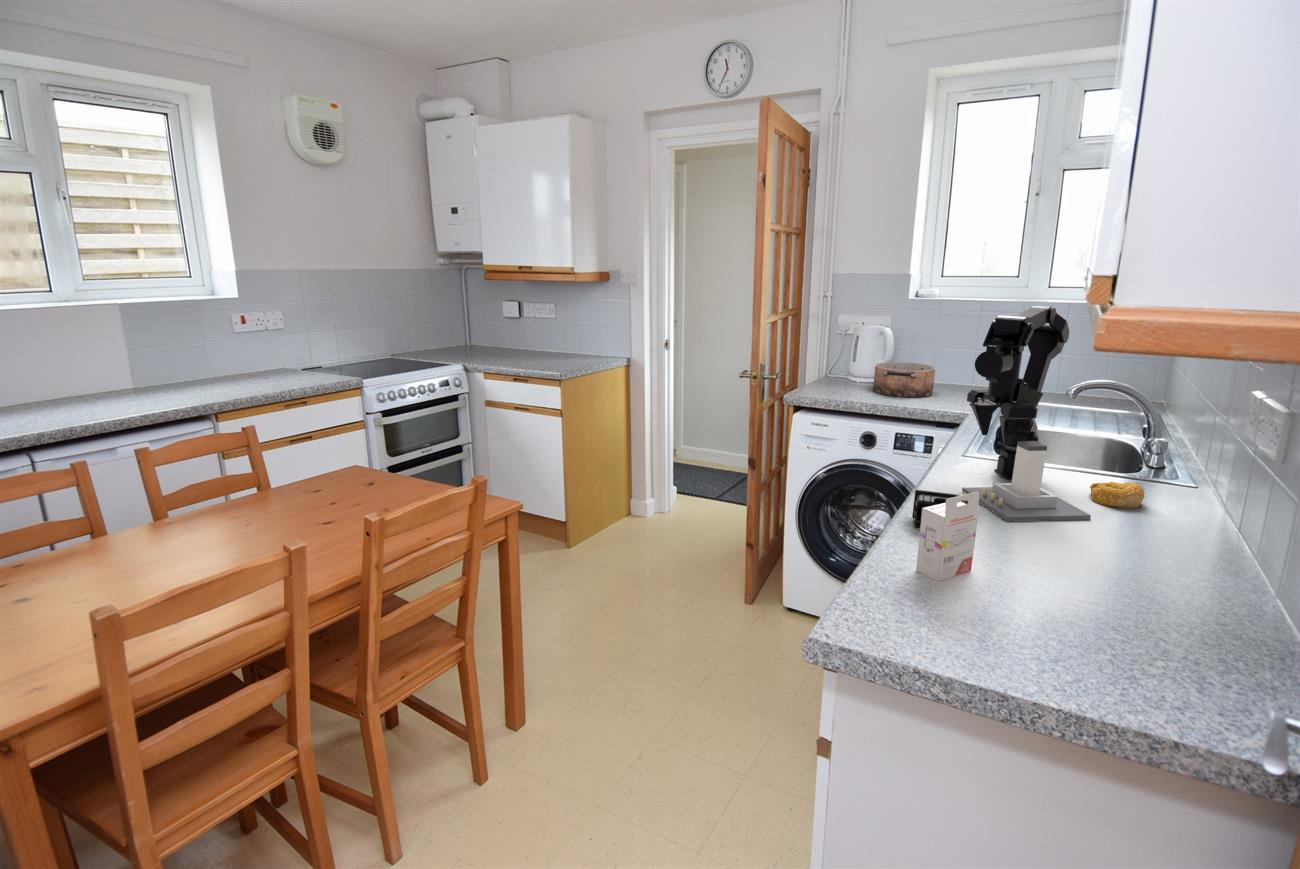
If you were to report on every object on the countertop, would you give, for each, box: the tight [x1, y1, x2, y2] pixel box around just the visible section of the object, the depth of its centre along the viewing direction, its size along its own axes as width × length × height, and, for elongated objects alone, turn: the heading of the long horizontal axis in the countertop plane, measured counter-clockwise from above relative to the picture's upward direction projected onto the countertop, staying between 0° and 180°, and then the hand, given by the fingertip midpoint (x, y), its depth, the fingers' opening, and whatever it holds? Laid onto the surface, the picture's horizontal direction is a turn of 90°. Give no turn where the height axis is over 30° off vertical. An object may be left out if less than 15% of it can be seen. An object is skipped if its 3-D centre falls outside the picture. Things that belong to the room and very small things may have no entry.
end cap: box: [912, 489, 968, 529], centre depth 135 cm, size 10×7×7 cm
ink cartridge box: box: [915, 492, 980, 582], centre depth 114 cm, size 9×5×15 cm, turn 117°
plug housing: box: [1010, 441, 1048, 496], centre depth 145 cm, size 4×4×13 cm
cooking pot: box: [872, 361, 936, 399], centre depth 267 cm, size 30×22×11 cm
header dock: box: [961, 482, 1092, 522], centre depth 147 cm, size 18×18×4 cm
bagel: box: [1089, 481, 1145, 509], centre depth 149 cm, size 10×11×5 cm
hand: (995, 440), depth 153 cm, fingers open, 9 cm apart
